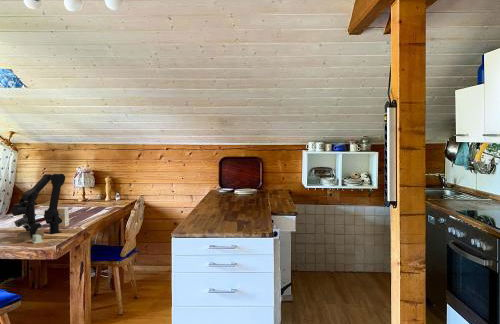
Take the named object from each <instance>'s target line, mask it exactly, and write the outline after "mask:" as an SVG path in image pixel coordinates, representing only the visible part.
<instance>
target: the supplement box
mask: <svg viewBox="0 0 500 324" xmlns="http://www.w3.org/2000/svg"><path fill="white" fill-rule="evenodd" d="M57 210H58V212H59V217H60V218H61V219H62V223H60V224H59V228H60V227H64V228H66V227H69V225H70V217H69V216H70V215H69V214H70V213H69V207H59V206H57Z"/></svg>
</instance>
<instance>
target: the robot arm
mask: <svg viewBox="0 0 500 324" xmlns="http://www.w3.org/2000/svg"><path fill="white" fill-rule="evenodd" d="M65 181H66V176H65V173H53V174H51V173H46V174H45V173H44V174H43V176H42V177H41V178H40V179H39V180H38V182H36V184H35V185H33V187H32V188H30V189H28V190H26V191H25V192H23V193H22V195H21V197H20V199H19V201H18V202H17V203H16V204H15V203H14V204H13V206H12V208H11V211H10V212H11V214H12V215H13V216H14V217H16V216H17V217H18V216H22V217H21V218H18V219H17V220H14V221H13V223H14V225H15V227H17V228H21V227H22V228H24V229H25V232H27V231H30V235H31V238H33V235H35V233H36V231H37V230H39V228H41V229H42V223H40V222H37V220H36V217H37V213H36V205H38V204H39V203H38V202H36V200H37V199H38V197H39V193H40V192H41V191H42V190H43V189H44V188H45V187H46V186H47V185H48V184H49V182H50V184H51V186H52V189H51V195H50V200H49V205H48V208H47V209H45V210H44V211H43V212H44V214H43V219H44V221H45V223H46V224H48V225H49V231H47V233H48V234H50V235H54V234H60V233H62V231H61V230H60V227H59V224H60V223H62V219H61V218H60V217H59V212H58V210H57V208H58V207H59V206H58V204H59V199H60V194H61V188H62V186H63V185H64V184H65Z"/></svg>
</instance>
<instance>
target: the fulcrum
mask: <svg viewBox="0 0 500 324" xmlns="http://www.w3.org/2000/svg"><path fill="white" fill-rule="evenodd" d="M30 242H31V243H33V244H38V243H43V242H44V240H43V239H42V238H41V235H38V234H37V235H33V240H30Z"/></svg>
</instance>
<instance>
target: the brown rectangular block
mask: <svg viewBox="0 0 500 324" xmlns="http://www.w3.org/2000/svg"><path fill="white" fill-rule="evenodd" d="M16 234H17V237H16V238H17V242H18V243H21V242H26V241H31V240H33V238H31V235H30V231H27V232H26V231H22V232H17V233H16ZM37 234H38V235H41V239H45V230H44V229H42V228H41V229H37V231H36V233H35V235H37Z"/></svg>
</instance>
